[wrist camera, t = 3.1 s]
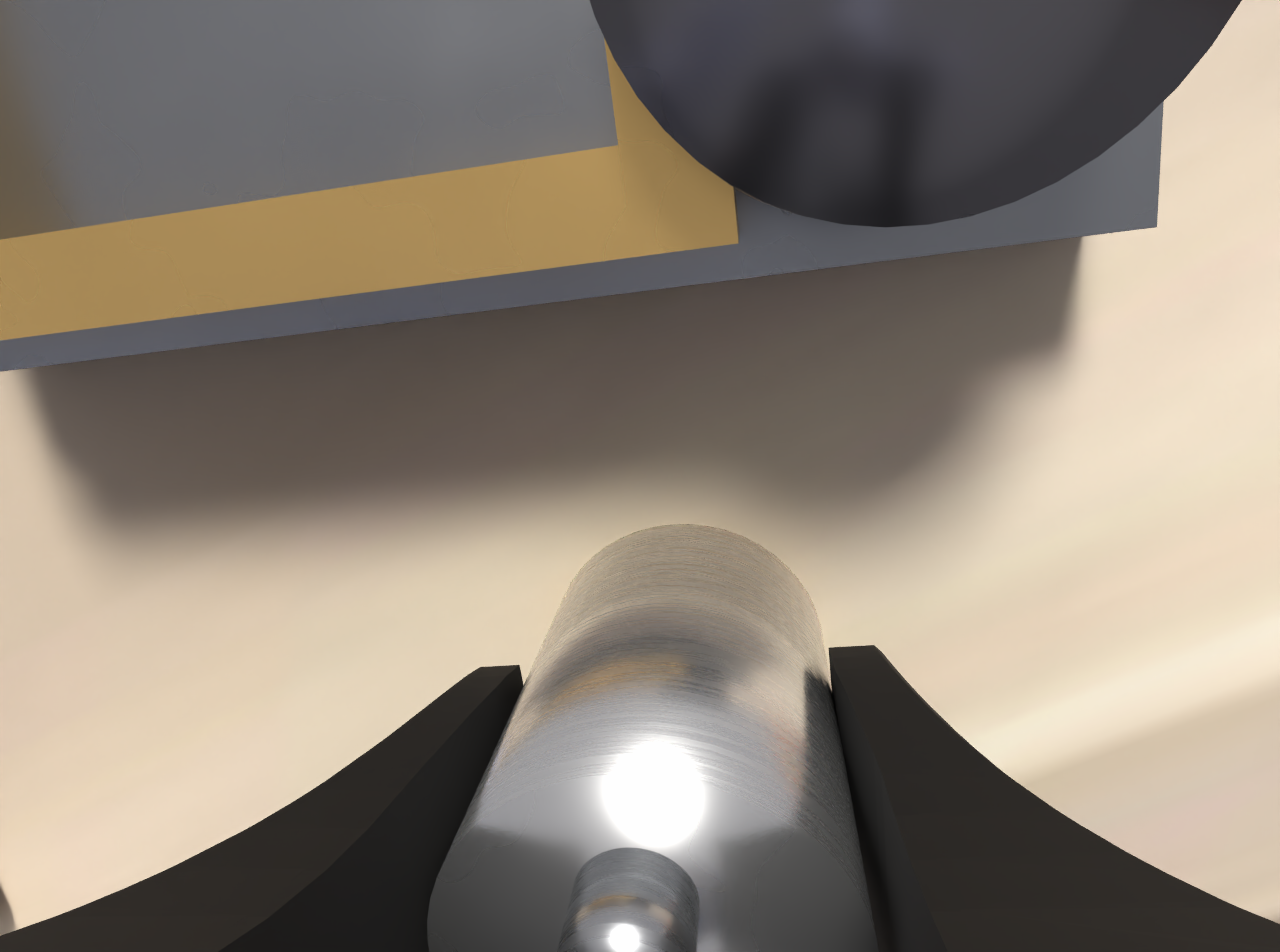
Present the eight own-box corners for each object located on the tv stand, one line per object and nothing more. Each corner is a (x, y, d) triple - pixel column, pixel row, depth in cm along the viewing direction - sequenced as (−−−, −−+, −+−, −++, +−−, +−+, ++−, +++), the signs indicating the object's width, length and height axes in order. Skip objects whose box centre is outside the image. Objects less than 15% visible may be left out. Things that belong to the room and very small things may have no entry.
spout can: (831, 756, 14) (908, 1251, 7) (577, 765, 15) (441, 1228, 8) (813, 513, 13) (887, 853, 6) (535, 535, 13) (332, 863, 7)
